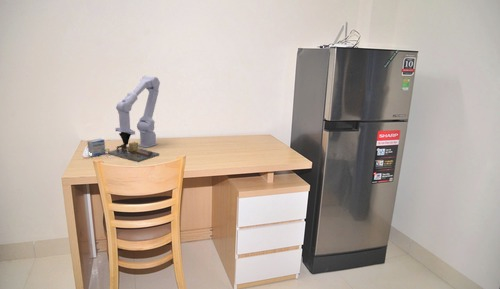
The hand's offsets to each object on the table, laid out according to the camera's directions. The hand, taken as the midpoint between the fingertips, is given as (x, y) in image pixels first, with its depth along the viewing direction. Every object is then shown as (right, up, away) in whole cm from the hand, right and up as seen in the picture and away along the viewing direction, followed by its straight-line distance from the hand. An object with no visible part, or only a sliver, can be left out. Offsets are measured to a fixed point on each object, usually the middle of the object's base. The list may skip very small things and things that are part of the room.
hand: (125, 144), depth 194 cm
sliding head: (+5, -4, -3) cm, 7 cm away
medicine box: (-14, -6, -7) cm, 17 cm away
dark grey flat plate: (+6, -6, -4) cm, 9 cm away
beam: (+7, -5, -5) cm, 9 cm away
